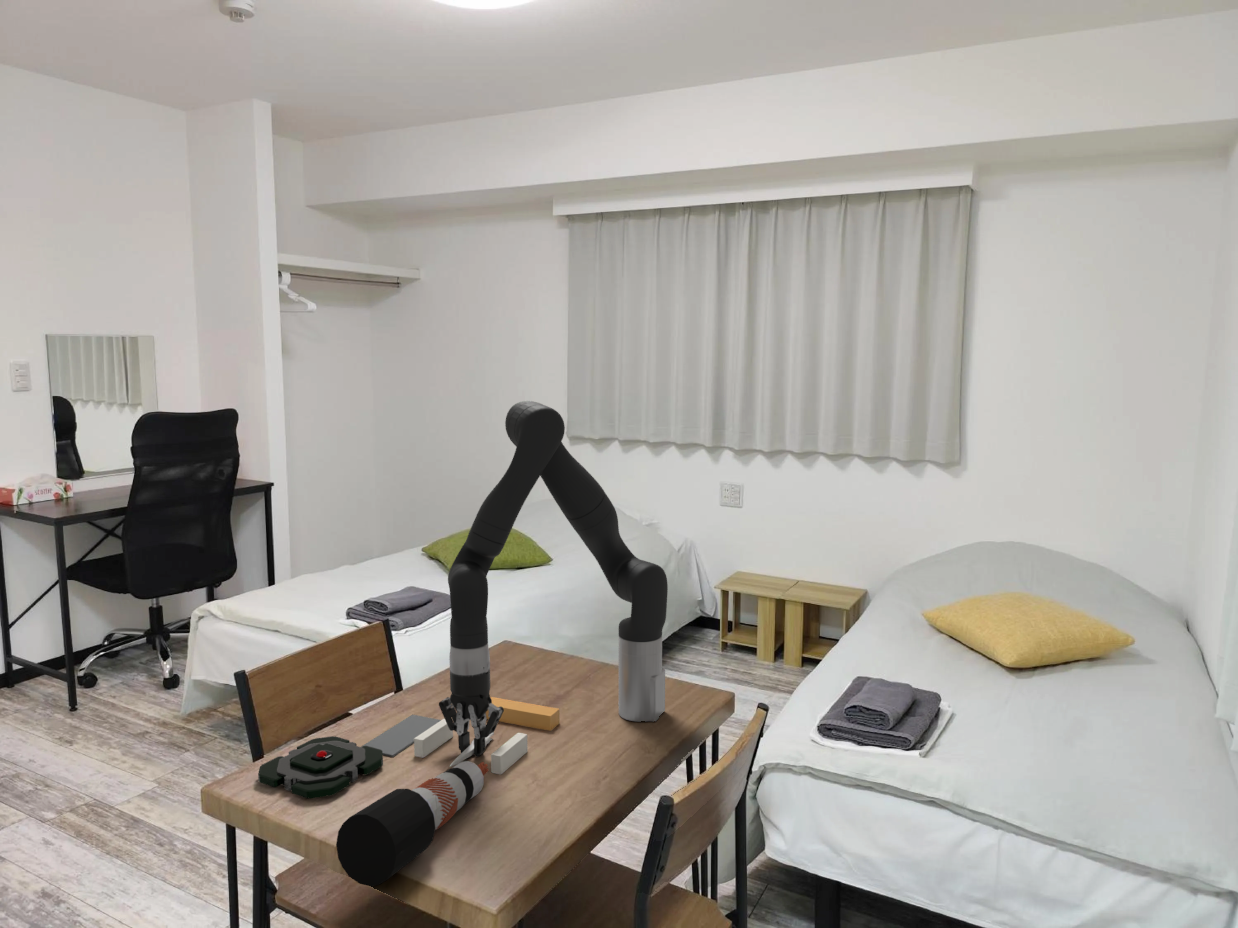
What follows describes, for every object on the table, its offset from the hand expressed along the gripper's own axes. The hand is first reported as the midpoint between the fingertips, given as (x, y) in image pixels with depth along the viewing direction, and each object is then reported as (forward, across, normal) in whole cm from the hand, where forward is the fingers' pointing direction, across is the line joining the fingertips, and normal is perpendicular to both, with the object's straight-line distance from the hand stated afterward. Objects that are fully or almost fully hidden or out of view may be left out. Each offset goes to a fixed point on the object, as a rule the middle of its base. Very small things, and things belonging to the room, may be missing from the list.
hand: (472, 752), depth 163 cm
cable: (+1, +8, -25) cm, 26 cm away
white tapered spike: (0, 0, 0) cm, 0 cm away
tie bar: (+1, -1, +17) cm, 17 cm away
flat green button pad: (+1, -21, -17) cm, 27 cm away
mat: (0, -17, +2) cm, 17 cm away
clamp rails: (0, 0, 0) cm, 0 cm away
